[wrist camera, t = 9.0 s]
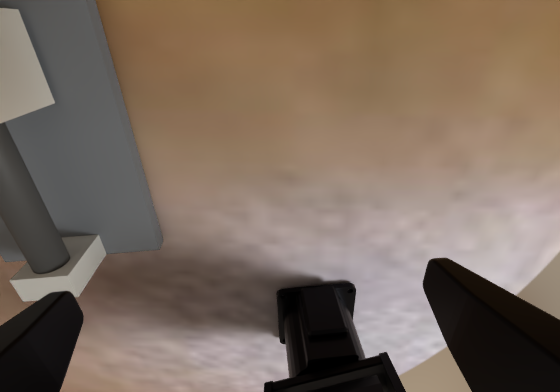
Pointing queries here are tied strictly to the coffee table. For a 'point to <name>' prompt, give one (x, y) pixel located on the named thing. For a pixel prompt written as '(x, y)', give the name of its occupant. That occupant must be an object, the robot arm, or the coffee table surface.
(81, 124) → the grey rod slide mechanism
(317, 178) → the coffee table surface
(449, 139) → the coffee table surface
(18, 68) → the sleeve
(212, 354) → the coffee table surface
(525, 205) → the coffee table surface
